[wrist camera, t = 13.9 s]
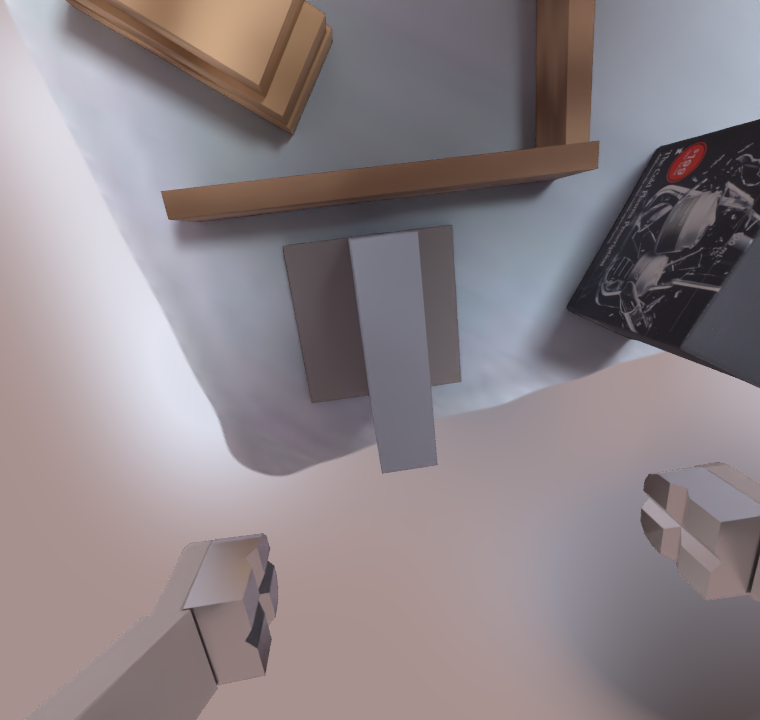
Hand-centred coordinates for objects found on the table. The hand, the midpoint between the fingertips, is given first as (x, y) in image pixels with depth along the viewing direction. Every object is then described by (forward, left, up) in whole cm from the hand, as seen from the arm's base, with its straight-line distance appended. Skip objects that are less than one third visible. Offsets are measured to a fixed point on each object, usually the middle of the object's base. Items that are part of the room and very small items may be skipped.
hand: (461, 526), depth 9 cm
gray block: (0, 0, -23) cm, 23 cm away
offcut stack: (-19, -8, -24) cm, 32 cm away
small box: (-2, +21, -24) cm, 32 cm away
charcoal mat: (0, 0, -23) cm, 23 cm away
